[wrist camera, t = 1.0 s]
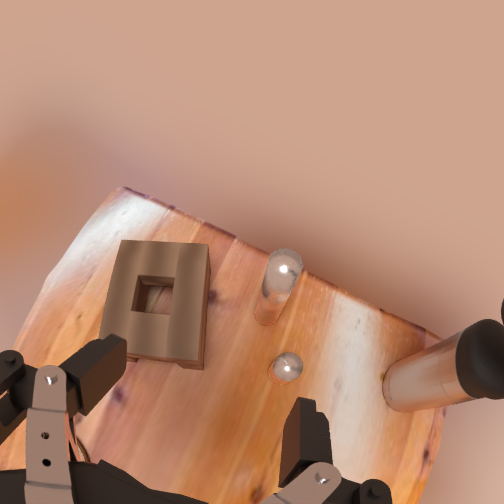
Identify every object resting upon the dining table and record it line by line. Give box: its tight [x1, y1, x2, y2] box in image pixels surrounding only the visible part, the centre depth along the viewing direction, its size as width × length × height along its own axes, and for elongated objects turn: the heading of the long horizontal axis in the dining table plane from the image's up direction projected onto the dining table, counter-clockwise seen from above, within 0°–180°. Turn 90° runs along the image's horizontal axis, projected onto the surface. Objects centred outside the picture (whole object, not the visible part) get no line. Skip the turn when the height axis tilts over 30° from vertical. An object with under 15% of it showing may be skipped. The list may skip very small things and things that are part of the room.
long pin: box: [255, 248, 303, 326], centre depth 36 cm, size 4×4×16 cm
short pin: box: [268, 353, 303, 385], centre depth 35 cm, size 4×4×6 cm
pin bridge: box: [98, 240, 211, 370], centre depth 38 cm, size 13×16×8 cm
